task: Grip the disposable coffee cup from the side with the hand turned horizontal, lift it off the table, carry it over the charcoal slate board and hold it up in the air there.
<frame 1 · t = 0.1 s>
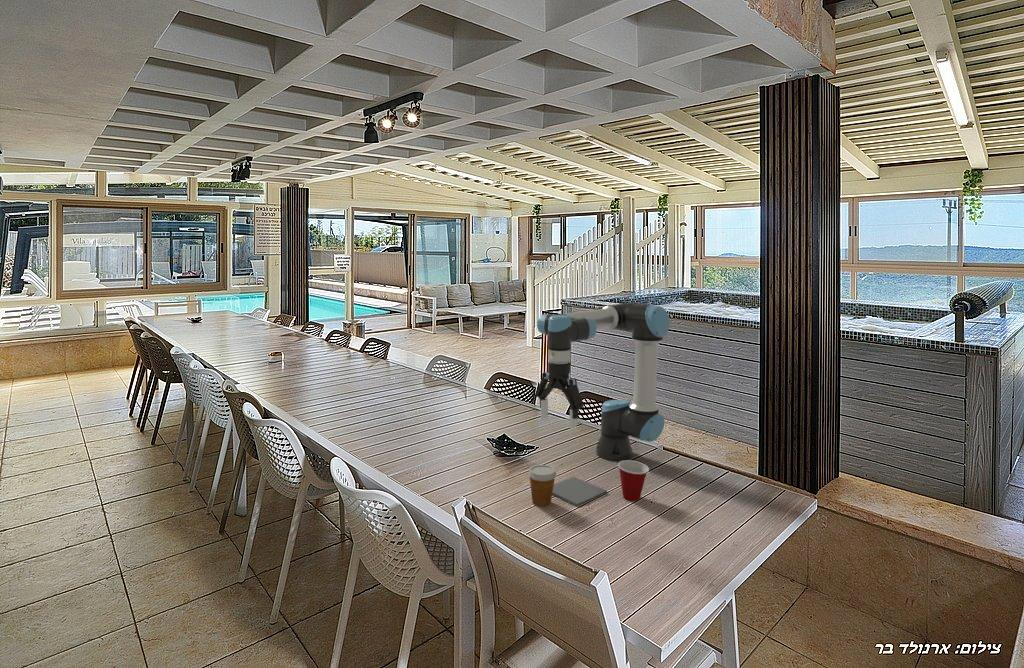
hand: (558, 422, 195), 28 cm above the table, tool pointing down, fingers open, 13 cm apart
plastic cup: (632, 498, 201), on the table
disposable coffee cup: (541, 503, 196), on the table
slate board: (575, 492, 205), on the table
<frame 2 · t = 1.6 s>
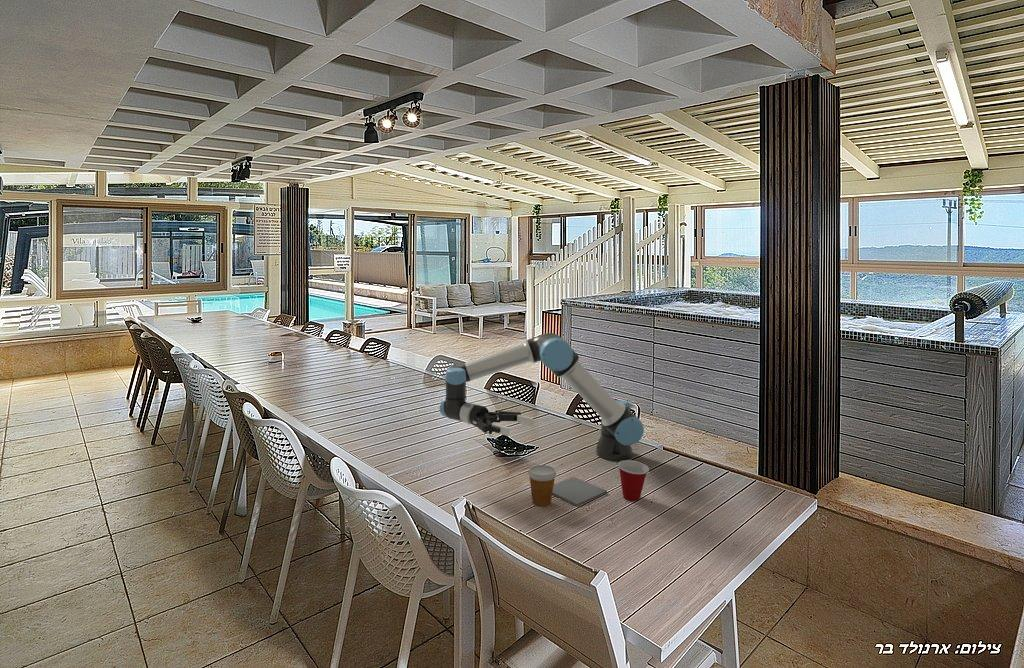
hand: (520, 427, 198), 25 cm above the table, tool horizontal, fingers open, 13 cm apart
nothing on the table moved.
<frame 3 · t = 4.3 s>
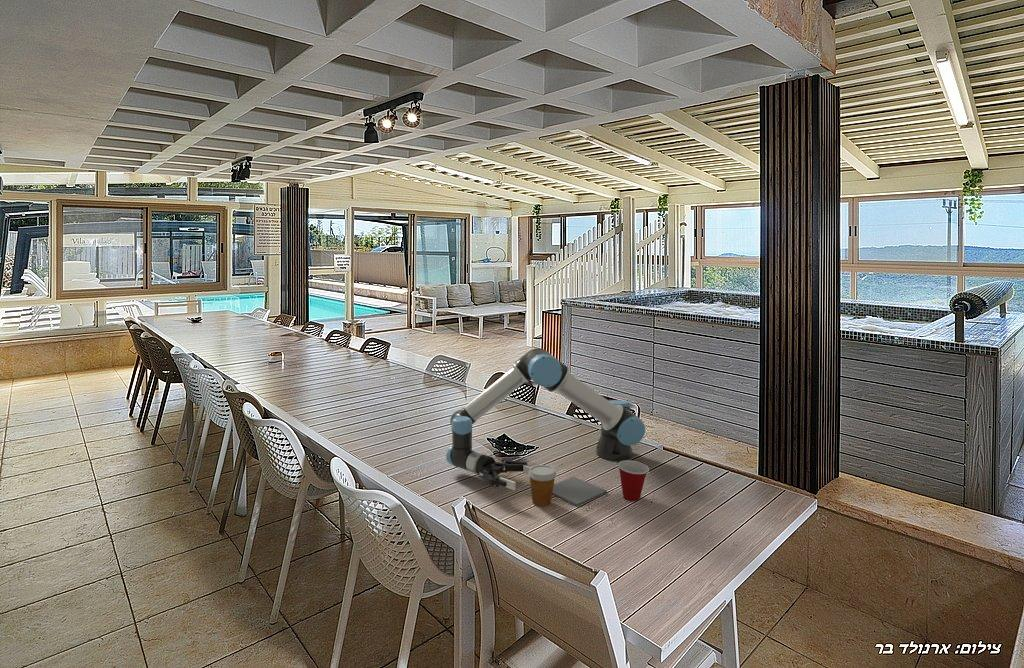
hand: (527, 479, 199), 7 cm above the table, tool horizontal, fingers open, 13 cm apart
nothing on the table moved.
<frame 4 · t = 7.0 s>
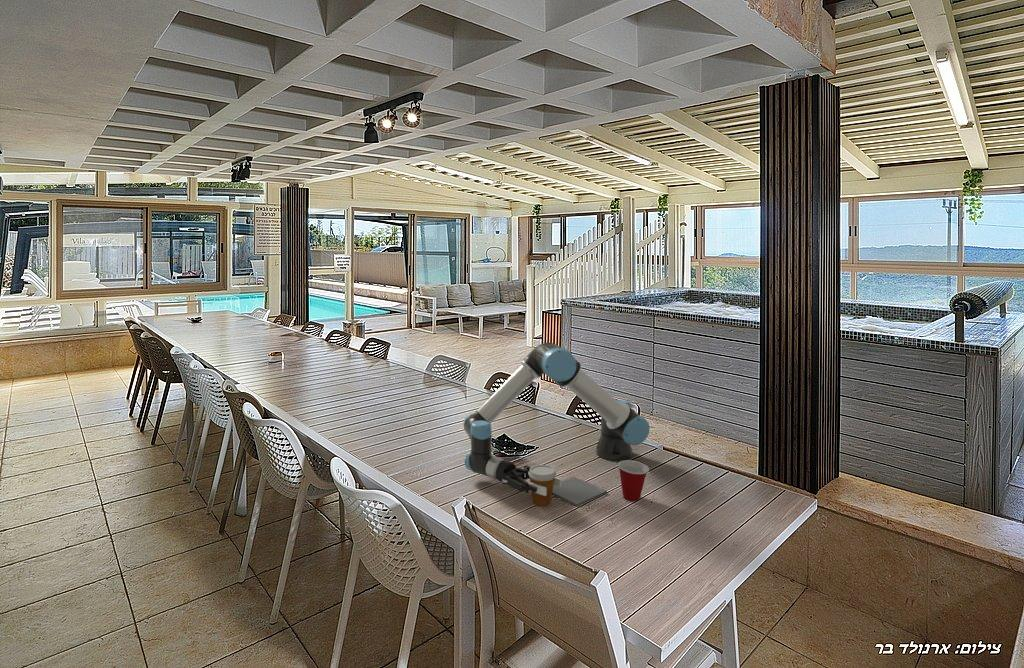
hand: (553, 487, 192), 7 cm above the table, tool horizontal, fingers closed on disposable coffee cup, 8 cm apart
disposable coffee cup: (541, 503, 196), on the table, touching gripper
everything else where it was.
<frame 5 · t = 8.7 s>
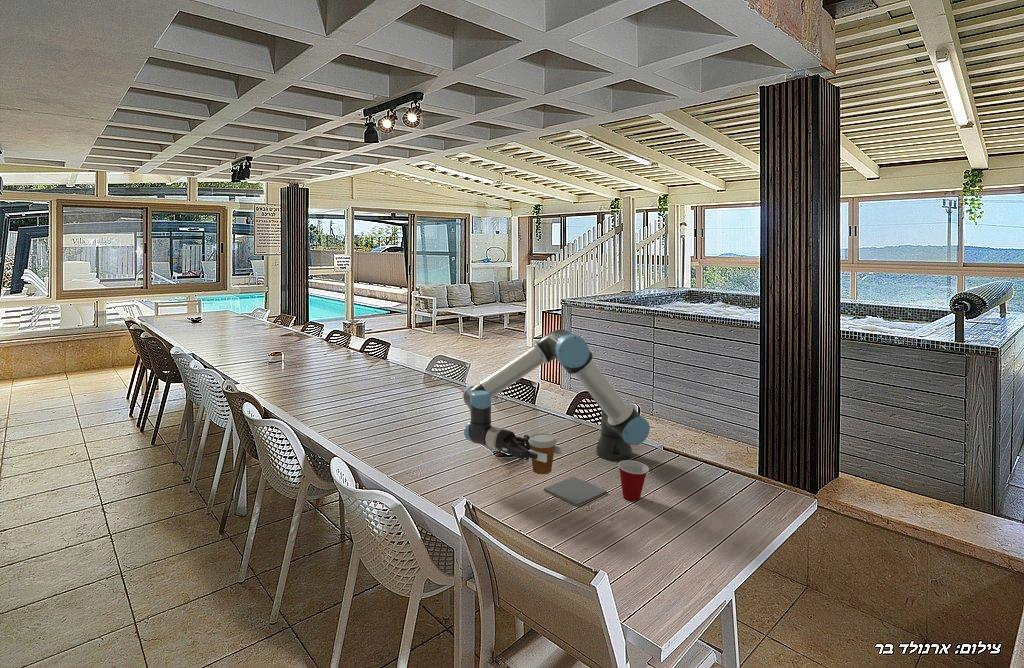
hand: (553, 454, 190), 19 cm above the table, tool horizontal, fingers closed on disposable coffee cup, 8 cm apart
disposable coffee cup: (542, 471, 194), point 11 cm above the table, touching gripper
everything else where it was.
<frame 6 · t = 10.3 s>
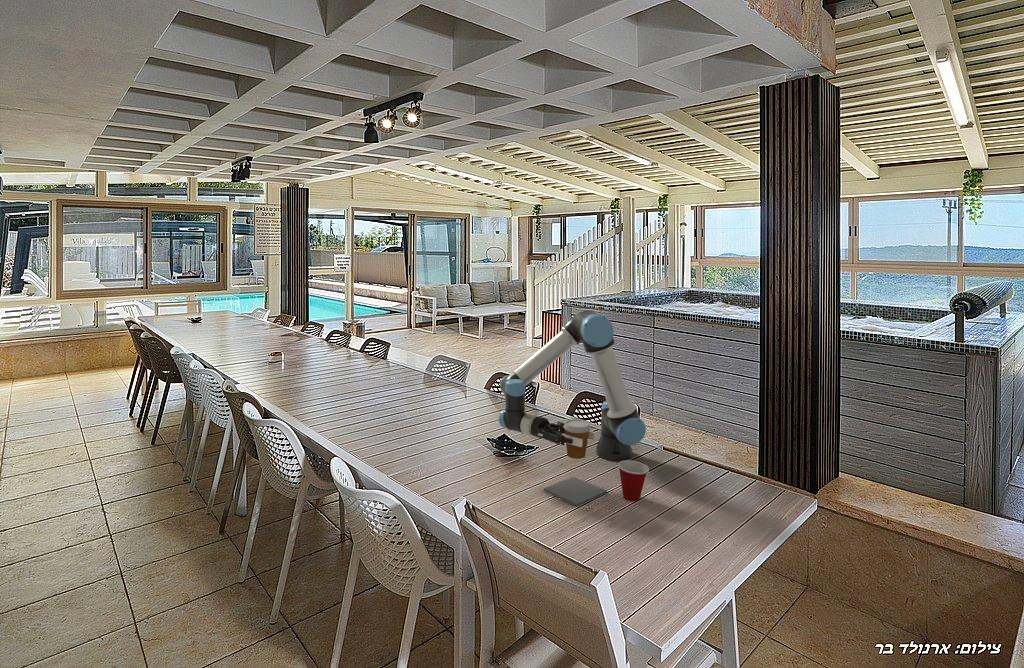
hand: (588, 439, 198), 21 cm above the table, tool horizontal, fingers closed on disposable coffee cup, 8 cm apart
disposable coffee cup: (576, 456, 202), point 14 cm above the table, touching gripper
everything else where it was.
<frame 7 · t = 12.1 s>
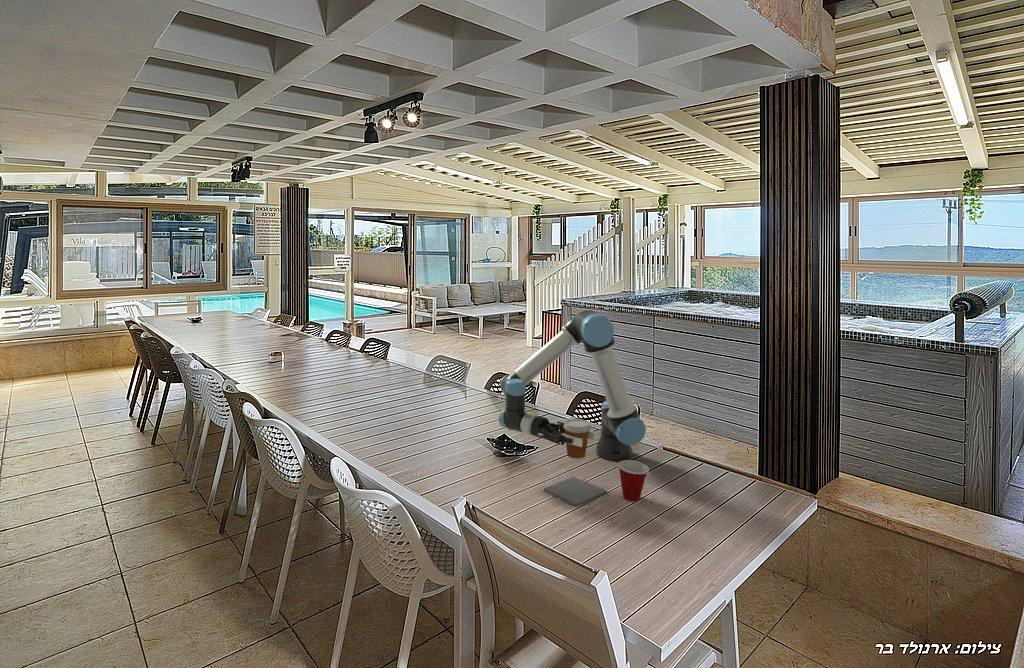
hand: (588, 439, 198), 21 cm above the table, tool horizontal, fingers closed on disposable coffee cup, 8 cm apart
disposable coffee cup: (576, 455, 202), point 14 cm above the table, touching gripper
everything else where it was.
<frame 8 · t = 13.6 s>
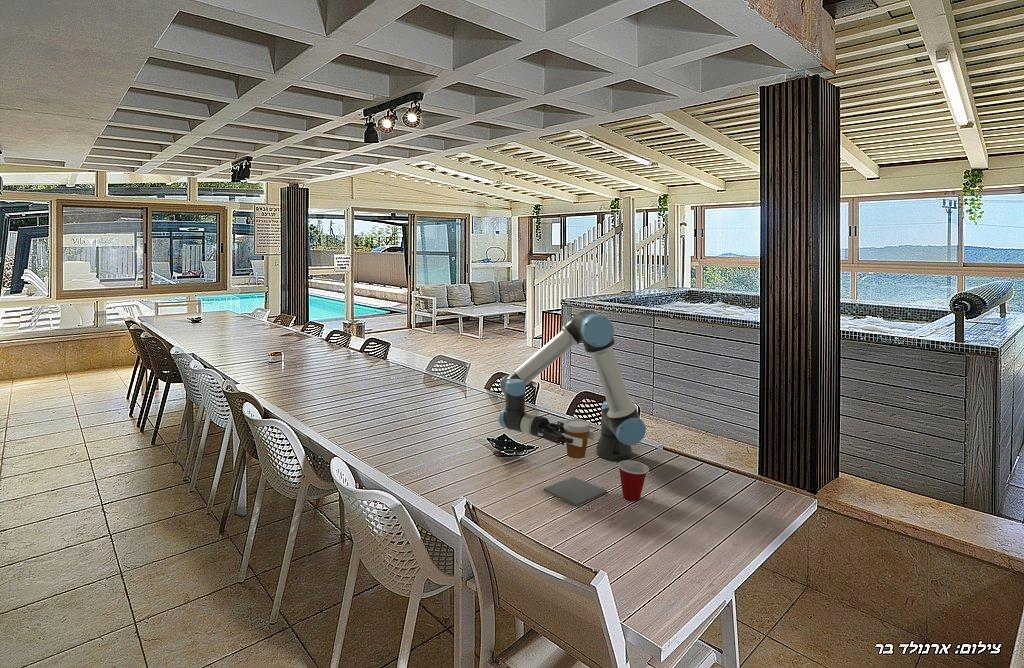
hand: (588, 439, 198), 21 cm above the table, tool horizontal, fingers closed on disposable coffee cup, 8 cm apart
disposable coffee cup: (576, 455, 202), point 14 cm above the table, touching gripper
everything else where it was.
at the end: the gripper is holding disposable coffee cup; disposable coffee cup inside the target area on the slate board (0.0 cm from its centre), point 13.7 cm above the slate board's base; disposable coffee cup tilted 0° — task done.
